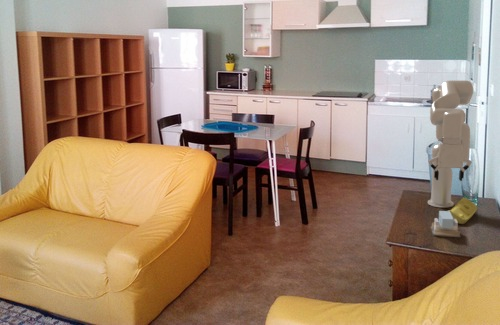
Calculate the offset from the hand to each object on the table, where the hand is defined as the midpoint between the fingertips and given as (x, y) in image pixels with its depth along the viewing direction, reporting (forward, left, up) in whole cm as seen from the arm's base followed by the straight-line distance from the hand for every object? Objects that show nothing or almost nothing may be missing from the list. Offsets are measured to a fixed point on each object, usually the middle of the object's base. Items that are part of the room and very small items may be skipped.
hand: (448, 179), depth 221 cm
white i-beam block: (0, 0, -23) cm, 23 cm away
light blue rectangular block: (0, 0, -20) cm, 20 cm away
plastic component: (-21, +10, -24) cm, 34 cm away
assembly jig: (0, 0, -24) cm, 24 cm away
